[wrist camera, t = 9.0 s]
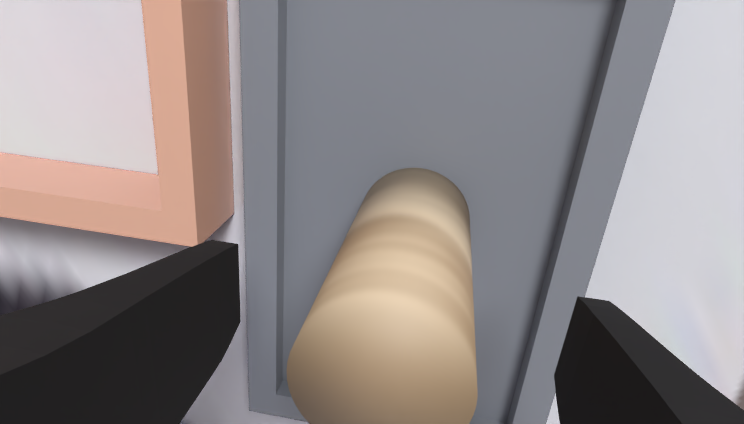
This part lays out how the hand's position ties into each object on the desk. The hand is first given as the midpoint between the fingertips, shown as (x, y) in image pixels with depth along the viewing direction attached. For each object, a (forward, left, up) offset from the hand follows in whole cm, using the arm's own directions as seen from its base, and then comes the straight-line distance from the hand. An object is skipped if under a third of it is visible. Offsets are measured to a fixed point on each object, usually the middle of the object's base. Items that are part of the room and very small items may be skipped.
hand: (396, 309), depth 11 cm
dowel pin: (0, 0, -5) cm, 5 cm away
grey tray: (0, 0, -5) cm, 5 cm away
